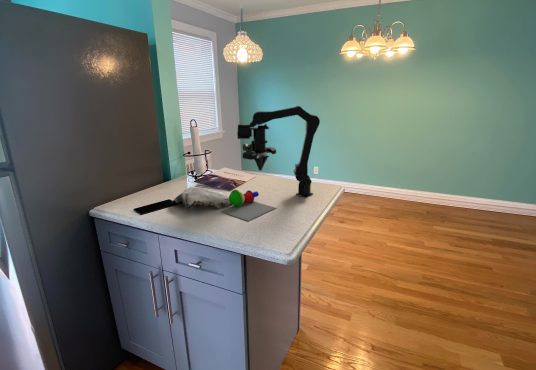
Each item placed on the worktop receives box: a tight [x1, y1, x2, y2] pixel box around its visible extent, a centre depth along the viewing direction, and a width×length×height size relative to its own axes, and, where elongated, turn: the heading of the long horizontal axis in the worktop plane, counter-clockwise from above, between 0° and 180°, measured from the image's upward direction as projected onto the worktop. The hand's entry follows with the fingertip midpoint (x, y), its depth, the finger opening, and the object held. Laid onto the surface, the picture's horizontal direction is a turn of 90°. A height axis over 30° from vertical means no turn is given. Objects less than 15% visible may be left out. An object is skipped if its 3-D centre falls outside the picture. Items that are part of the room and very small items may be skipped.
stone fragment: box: [170, 186, 233, 210], centre depth 143 cm, size 25×29×6 cm
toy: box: [228, 189, 259, 207], centre depth 138 cm, size 8×8×15 cm
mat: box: [219, 201, 277, 223], centre depth 133 cm, size 18×17×1 cm
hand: (260, 170), depth 148 cm, fingers closed
